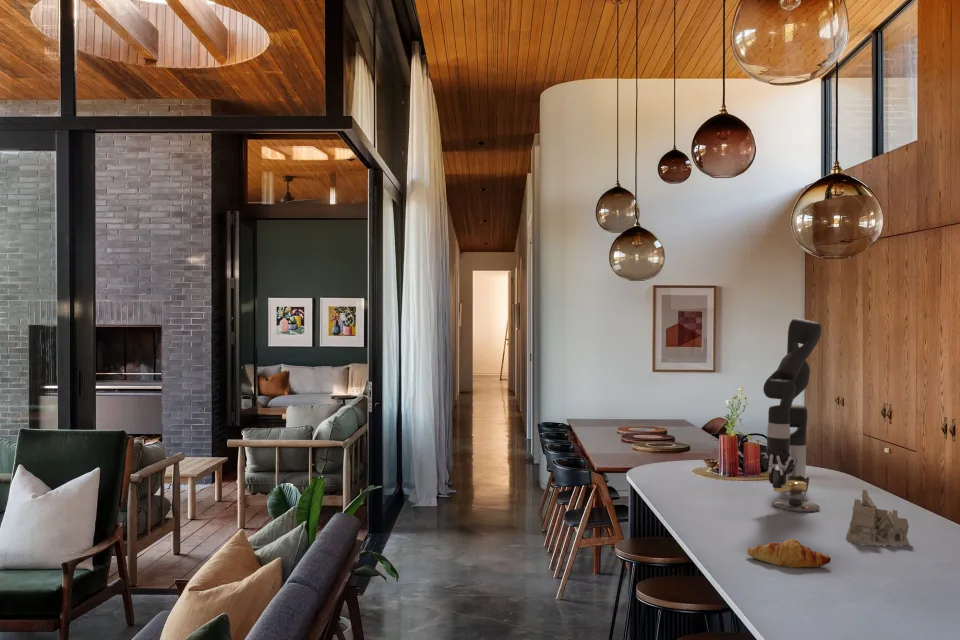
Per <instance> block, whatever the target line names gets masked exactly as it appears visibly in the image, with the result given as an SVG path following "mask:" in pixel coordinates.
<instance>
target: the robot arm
mask: <svg viewBox="0 0 960 640" xmlns="http://www.w3.org/2000/svg"><path fill="white" fill-rule="evenodd" d="M821 335H822V325H821V324H820V322H816V321H812V320H808V319H803V318H798V317H794V318H793V319H792V320H791V321H790V322H789V326H788V330H787V347H786V349H787V350H786V355H784V356H783V358H782V360H780V363H779V365H778V368H777V369H776V370H775V371H774V372H773V373H772V374H771V375H770V376H768V378H767V379H766V380H765V382H764V385H763V389H762V390H763V394H764V395H765V397H766V398H768V399H773V400H780V401H779V404H777V405H770V406H769V407H768V421H767V422H768V423H767V428H766V429H767V430H766V431H767V432H766V435H767V436H766V448H767V450H766V452H762V453H760V454H759V458H760V461H761V464H762V466H763V467H762V468H763V470H765V471H767V472H768V481H769V483H770V484H772V485H773V470H777V468H776V467H778V470H780V486H784V485H785V484H786V481H788V478H789V477H790V475H791V476H792V475H793V476H794V477H795V476H796V475H797V477H798V476H799V475H801V476H802V477H803V476H804V479H806V478H807V476H806V475H807V474H806V471H807V470H806V467H807V466H806V465H807V461H806V460H807V459H806V458H807V425H808V424H807V423H808V409H807V407H806V406H805V405H803V404H793V402H794V400H795V399H796V398H797V397H798V396H799V395H800V394H801V393H802V392H804V390H805V389H806V388H807V387H808V385H809V381H810V375H811V374H810V373H811V369H810V365H809V363H808V361H807V359H808V358H809V357H810V355H811V354H812V352H813V350H814V349H815V347H816V346H817V345H818V343H819V341H820V338H821ZM799 344H800V345H801V346H799ZM791 428H797V429H796V430H795V431H793V432H791ZM788 476H789V477H788Z"/></svg>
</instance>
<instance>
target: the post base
mask: <svg viewBox="0 0 960 640" xmlns="http://www.w3.org/2000/svg"><path fill="white" fill-rule="evenodd" d="M785 494H786V495H787V496H788V498H780V499H778V498H777V499H773V500H771V507H773V508H775V509H777V508H778V509H777V510H781V509H782V510H781V511H785V510H787V511H786V512H792V511H794V513H804V512H809V513H816V512H815V511H817V512H819V511H820V510H821V507H820V505H819V504H817V503H814V502H811V501H807V500H803V498H802V495H803V496H805V495H806V493H805V492H804V491H791V490H789V491H785ZM818 510H819V511H818Z"/></svg>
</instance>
